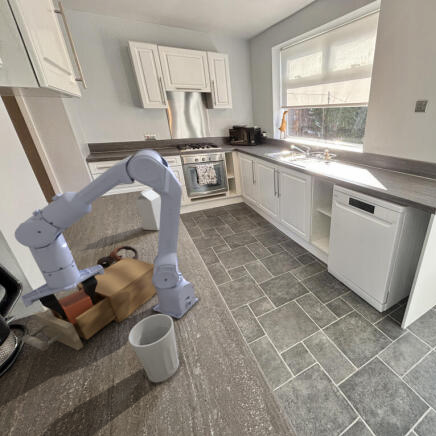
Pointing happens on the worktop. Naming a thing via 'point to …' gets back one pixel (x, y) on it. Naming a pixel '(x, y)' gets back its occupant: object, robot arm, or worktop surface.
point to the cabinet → (126, 286)
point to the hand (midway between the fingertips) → (78, 309)
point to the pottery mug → (115, 256)
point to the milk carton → (149, 209)
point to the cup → (156, 346)
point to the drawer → (72, 325)
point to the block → (75, 305)
